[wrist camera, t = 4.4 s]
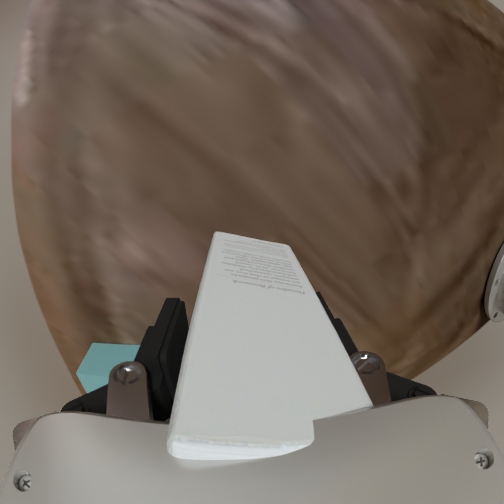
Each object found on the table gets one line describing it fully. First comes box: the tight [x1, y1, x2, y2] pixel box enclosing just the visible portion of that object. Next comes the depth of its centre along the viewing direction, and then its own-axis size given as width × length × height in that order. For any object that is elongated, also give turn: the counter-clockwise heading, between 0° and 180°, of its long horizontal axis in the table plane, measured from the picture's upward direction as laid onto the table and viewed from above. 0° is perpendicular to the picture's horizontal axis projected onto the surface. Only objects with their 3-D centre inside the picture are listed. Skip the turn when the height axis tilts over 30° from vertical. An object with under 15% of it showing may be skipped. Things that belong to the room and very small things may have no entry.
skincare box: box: [167, 232, 373, 460], centre depth 10 cm, size 6×4×12 cm
